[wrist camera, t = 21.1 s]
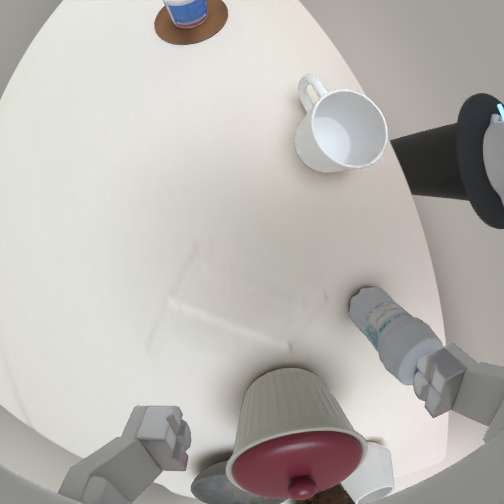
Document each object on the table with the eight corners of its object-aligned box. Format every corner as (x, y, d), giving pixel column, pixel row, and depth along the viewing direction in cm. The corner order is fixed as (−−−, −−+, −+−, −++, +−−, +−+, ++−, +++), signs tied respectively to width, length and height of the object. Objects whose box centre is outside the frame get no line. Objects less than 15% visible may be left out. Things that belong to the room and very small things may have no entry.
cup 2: (322, 469, 48) (334, 513, 35) (345, 438, 46) (363, 486, 32) (369, 464, 49) (384, 503, 36) (394, 433, 47) (416, 474, 33)
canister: (344, 406, 43) (380, 494, 23) (252, 435, 44) (256, 527, 24) (323, 332, 39) (376, 436, 19) (212, 369, 40) (195, 481, 20)
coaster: (222, -11, 27) (222, -12, 27) (233, 36, 30) (232, 34, 29) (154, 4, 27) (153, 3, 27) (156, 53, 30) (156, 52, 29)
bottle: (379, 274, 38) (465, 337, 18) (387, 311, 39) (461, 384, 20) (339, 292, 38) (407, 375, 19) (349, 329, 39) (409, 417, 20)
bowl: (306, 467, 48) (311, 493, 40) (239, 493, 50) (239, 517, 43) (245, 432, 44) (245, 464, 36) (176, 462, 47) (170, 489, 39)
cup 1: (312, 184, 35) (338, 182, 25) (266, 105, 32) (275, 76, 22) (362, 157, 34) (400, 149, 24) (319, 82, 32) (343, 51, 22)
